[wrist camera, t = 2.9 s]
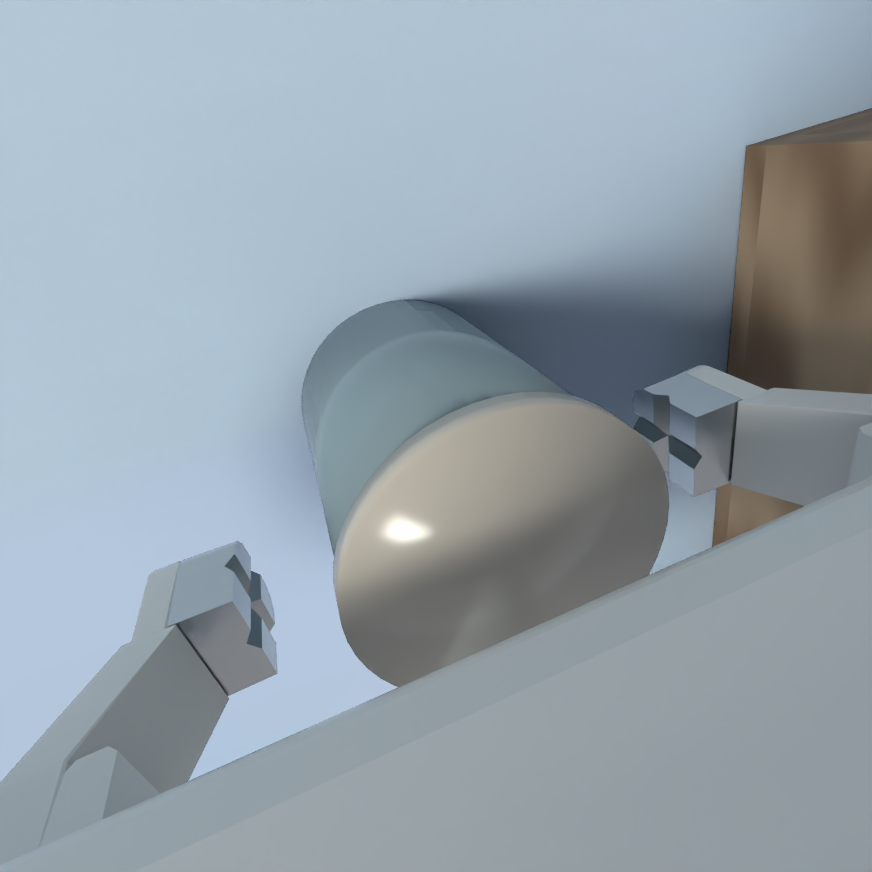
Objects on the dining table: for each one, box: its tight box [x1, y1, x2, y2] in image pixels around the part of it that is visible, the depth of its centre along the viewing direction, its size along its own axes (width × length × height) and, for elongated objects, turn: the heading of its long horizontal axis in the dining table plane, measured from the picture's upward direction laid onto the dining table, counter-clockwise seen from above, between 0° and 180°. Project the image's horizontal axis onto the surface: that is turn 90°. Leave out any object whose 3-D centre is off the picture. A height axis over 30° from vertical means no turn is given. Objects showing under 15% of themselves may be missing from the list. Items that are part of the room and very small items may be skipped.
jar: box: [302, 300, 669, 687], centre depth 10 cm, size 5×5×6 cm
